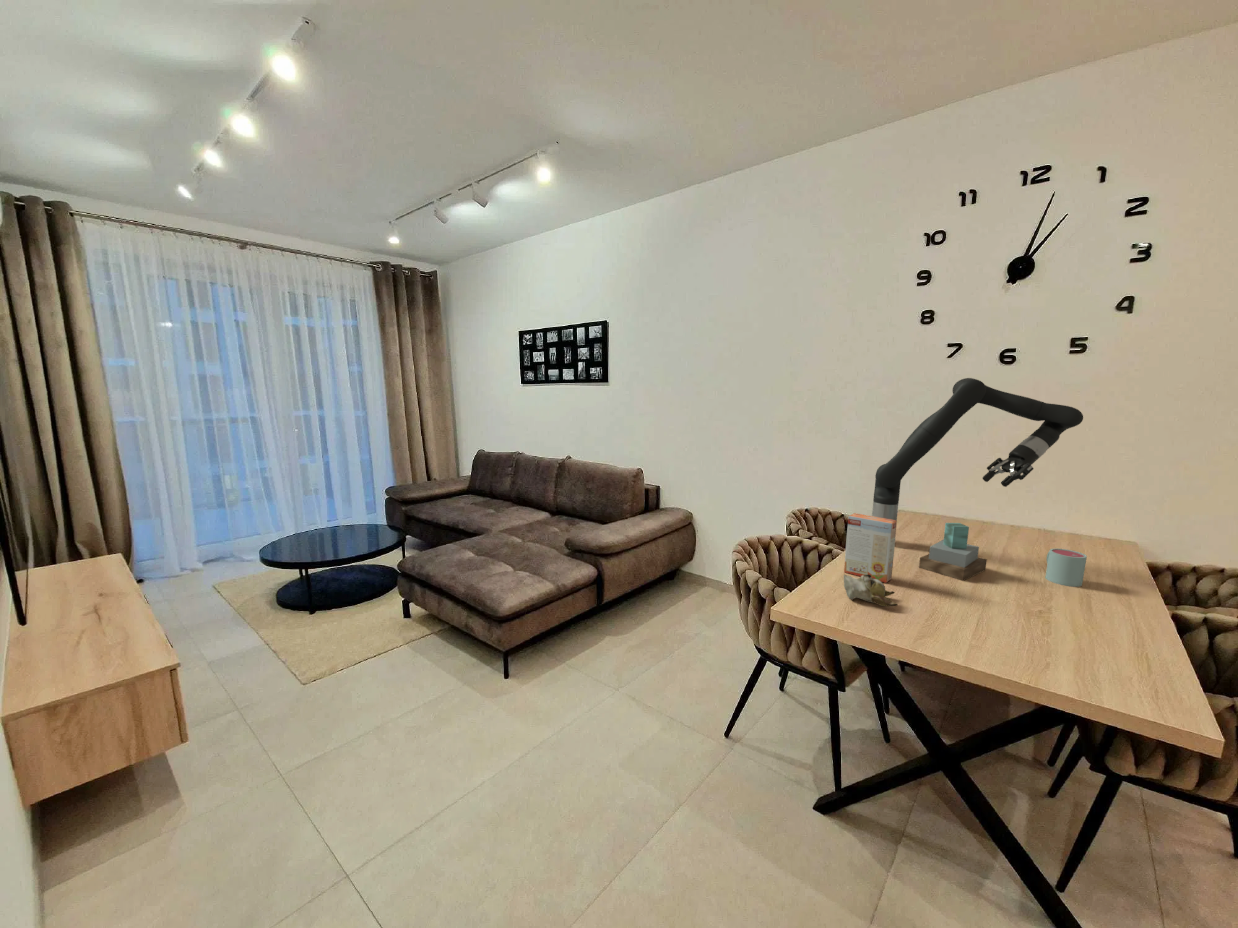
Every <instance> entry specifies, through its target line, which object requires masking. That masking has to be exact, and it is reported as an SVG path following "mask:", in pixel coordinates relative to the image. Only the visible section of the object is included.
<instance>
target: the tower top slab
mask: <svg viewBox="0 0 1238 928" xmlns="http://www.w3.org/2000/svg"><path fill="white" fill-rule="evenodd" d="M943 542H944V538H943V539H942V540H939V541H938V542H936V543H934V544H932V545H930V546H929V553H928V554H929V559H932V560H936V561H940V562H944V563H948V564H952V565H956V566H960V567H964V568H965V567H966V566H968V565H969V564H971V563H972V562H973V561H975V560H976V559H978V557H979V551H980V550H979V549H980V546H978V545H973V544H968V543H967V548H966V549H952V548H950V547H948V546H946V545H944V544H943Z"/></svg>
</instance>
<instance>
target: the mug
mask: <svg viewBox="0 0 1238 928" xmlns="http://www.w3.org/2000/svg"><path fill="white" fill-rule="evenodd" d="M1087 557H1088V556H1087V555H1086V554H1085V553H1082V552H1081V551H1080V552H1079V551H1076V550H1071V549H1065V548H1050V549H1049V551H1048V552H1047V555H1046V564H1047V565H1046V572H1045V580H1047V581H1049V582H1050V583H1054V584H1056V585H1057V584H1058V585H1060V586H1065V587H1075V588H1078V587H1082V586H1083V581H1084V576H1085V570H1086V564H1087Z"/></svg>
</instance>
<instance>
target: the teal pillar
mask: <svg viewBox="0 0 1238 928" xmlns="http://www.w3.org/2000/svg"><path fill="white" fill-rule="evenodd" d="M944 525H945V526H944V532H943V533H944V534H943V539H944V542H943V544H944V545H946V546H948V547H950V548H952V549H966V548H967V544H968V539H969V538H968V537H969V530H970V526H968V525H965V524H963V523H961V522H945V523H944Z"/></svg>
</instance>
